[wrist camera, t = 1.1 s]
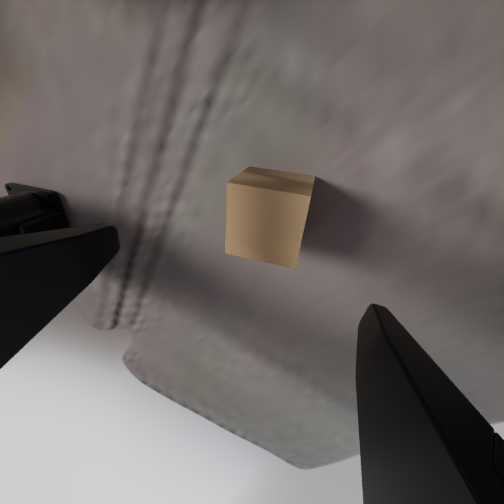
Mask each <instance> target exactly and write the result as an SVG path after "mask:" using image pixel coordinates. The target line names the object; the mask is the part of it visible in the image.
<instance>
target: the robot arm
mask: <svg viewBox="0 0 504 504" xmlns="http://www.w3.org/2000/svg"><path fill="white" fill-rule="evenodd" d="M5 188H6V190H7V192H8V194H9V195H8V196H4V197H0V369H1V368H2V367H3V366H4V365H5V364H6V363H7V362H8V361H9V360H10V359H11V358H12V357H13V356H14V355H15V354H17V353H18V352H19V351H20V350H21V349H22V348H23V347H24V346H25V345H26V344H27V343H28V342H29V341H30V340H31V339H32V338H33V337H34V336H36V334H38V333H39V332H40V331H41V330H42V329H43V328H44V327H45V326H46V325H47V324H48V323H49V322H50V321H51V320H52V319H53V318H54V317H56V316H57V315H58V314H59V313H60V312H61V311H62V310H63V309H64V308H65V307H66V306H67V305H68V304H69V303H70V302H71V301H72V300H73V299H75V298H76V297H77V296H78V295H79V294H80V293H81V292H82V291H83V290H84V289H85V288H86V287H87V286H88V285H89V284H90V283H91V282H92V281H93V280H94V279H95V278H96V277H97V276H98V274H99V273H100V272H101V271H102V270H103V269H104V267H105V266H106V265H107V264H108V263H109V262H110V261H111V259H112V258H113V257H114V256H115V255H116V254H117V253H118V251H119V249H120V242H119V237H118V231H117V229H116V227H115V226H113V225H109V224H106V223H101V224H94V225H87V226H80V227H72V228H69V226H68V224H67V221H66V218H65V215H64V212H63V209H62V206H61V204H60V201H59V198H58V196H57V194H56V193H55V192H53V191H50V190H45V189H40V188H35V187H29V186H24V185H19V184H14V183H7V184H5ZM356 392H357V408H358V424H359V440H360V456H361V471H362V487H363V503H364V504H504V440H503V439H502V438H501V436H500V435H499V434H498V433H495V432H494V429H493V427H492V426H491V425H490V424H489V423H488V422H487V421H486V420H485V418H484V417H483V416H482V415H481V414H480V413H479V412H478V411H477V409H476V408H475V407H474V406H473V405H472V404H471V403H470V402H469V400H468V399H467V398H466V397H465V396H464V395H463V394H462V392H461V391H460V390H459V389H458V388H457V387H456V386H455V385H454V383H453V382H452V381H451V380H450V379H449V378H448V377H447V376H446V374H445V373H444V372H443V371H442V370H441V369H440V368H439V366H438V365H437V364H436V363H435V362H434V361H433V360H432V359H431V357H430V356H429V355H428V354H427V353H426V352H425V351H424V350H423V348H422V347H421V346H420V345H419V344H418V343H417V342H416V340H415V339H414V338H413V337H412V336H411V335H410V334H409V333H408V331H407V330H406V329H405V328H404V327H403V326H402V325H401V324H400V322H399V321H398V320H397V319H396V318H395V317H394V316H393V314H392V313H391V312H390V311H389V310H388V309H387V308H386V307H384V306H380V305H377V304H370V305H369V307H368V308H367V310H366V312H365V314H364V315H363V317H362V319H361V320H360V323H359V326H358V339H357V356H356Z"/></svg>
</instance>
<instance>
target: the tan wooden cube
mask: <svg viewBox="0 0 504 504" xmlns="http://www.w3.org/2000/svg"><path fill="white" fill-rule="evenodd" d="M314 180H315V176H309V175H303V174H296V173H289V172H282V171H276V170H269V169H262V168H255V167H248V168H247V169H246V170H244V171H243V172H241V173H240V174H239V175H237V176H236V177H234V178H233V179H231V180H230V181H229V182H227V204H226V241H225V253H227V254H231V255H236V256H240V257H245V258H249V259H254V260H258V261H263V262H267V263H272V264H276V265H281V266H285V267H290V268H294V269H295V268H296V264H297V259H298V254H299V250H300V245H301V241H302V236H303V232H304V227H305V222H306V218H307V213H308V209H309V204H310V200H311V195H312V190H313V185H314Z"/></svg>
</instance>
